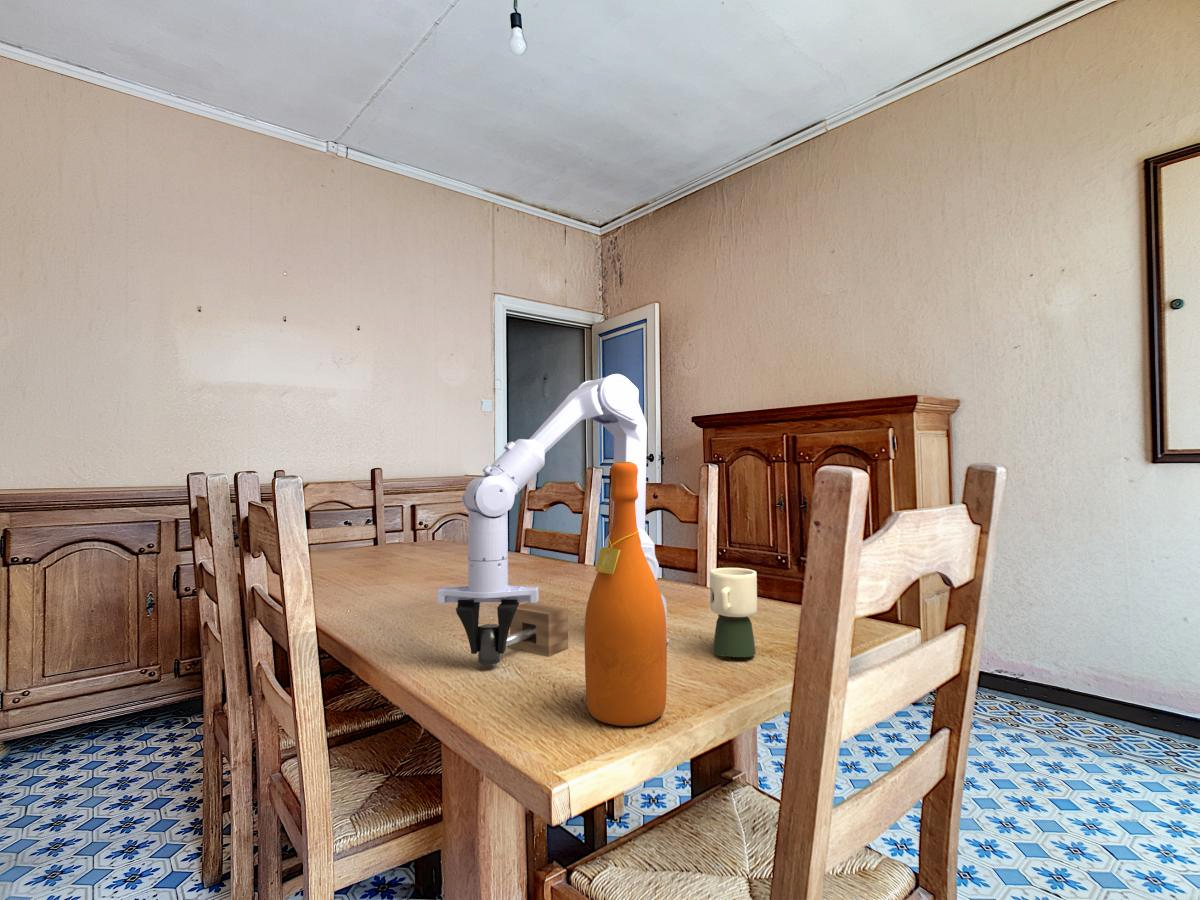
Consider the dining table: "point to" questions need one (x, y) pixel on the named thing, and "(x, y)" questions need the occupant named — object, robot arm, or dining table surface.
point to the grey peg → (496, 642)
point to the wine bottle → (625, 621)
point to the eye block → (541, 628)
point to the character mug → (733, 610)
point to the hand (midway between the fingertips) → (488, 651)
